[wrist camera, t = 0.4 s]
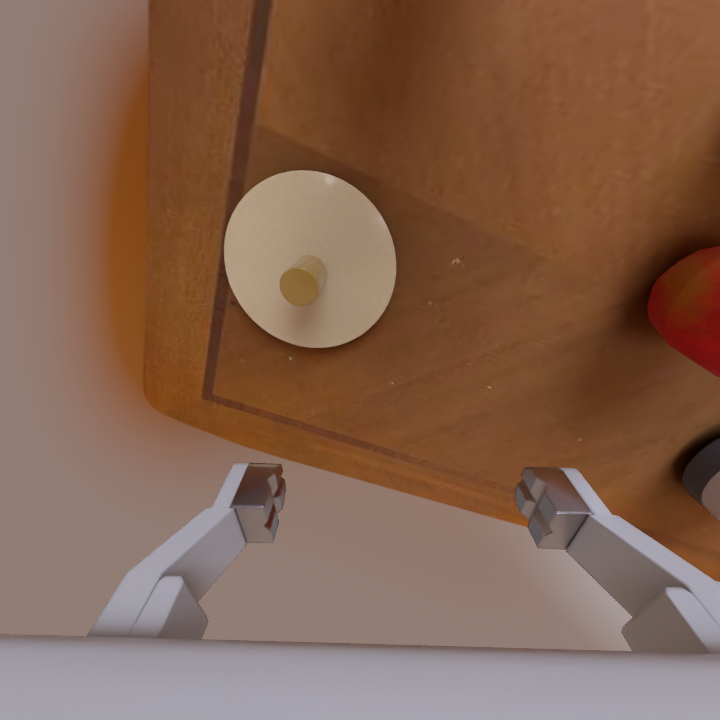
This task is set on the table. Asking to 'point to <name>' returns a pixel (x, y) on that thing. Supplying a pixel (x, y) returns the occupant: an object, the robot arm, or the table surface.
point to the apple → (690, 307)
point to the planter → (705, 477)
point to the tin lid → (310, 259)
